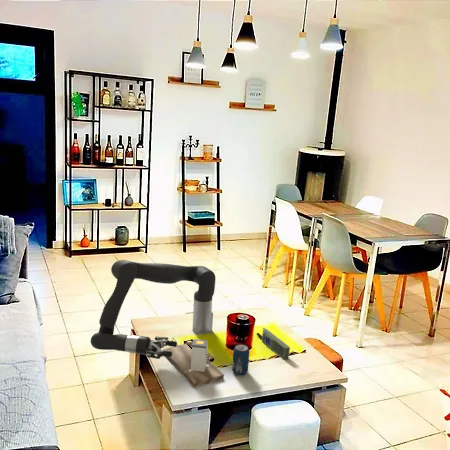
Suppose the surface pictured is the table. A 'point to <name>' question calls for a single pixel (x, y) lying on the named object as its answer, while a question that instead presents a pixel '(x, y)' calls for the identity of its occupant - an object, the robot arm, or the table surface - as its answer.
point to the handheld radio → (275, 344)
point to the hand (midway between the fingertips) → (174, 349)
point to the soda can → (240, 359)
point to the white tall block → (199, 355)
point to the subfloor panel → (183, 364)
